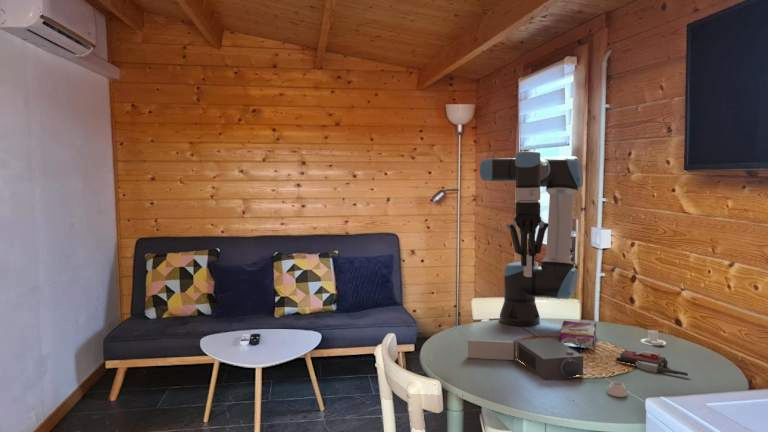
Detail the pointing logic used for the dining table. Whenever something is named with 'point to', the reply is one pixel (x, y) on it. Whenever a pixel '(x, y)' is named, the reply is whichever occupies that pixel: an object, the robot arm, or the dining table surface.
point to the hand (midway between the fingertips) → (527, 276)
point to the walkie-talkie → (647, 361)
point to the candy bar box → (578, 333)
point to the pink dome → (617, 389)
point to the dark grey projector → (549, 358)
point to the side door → (492, 349)
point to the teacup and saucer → (653, 339)
